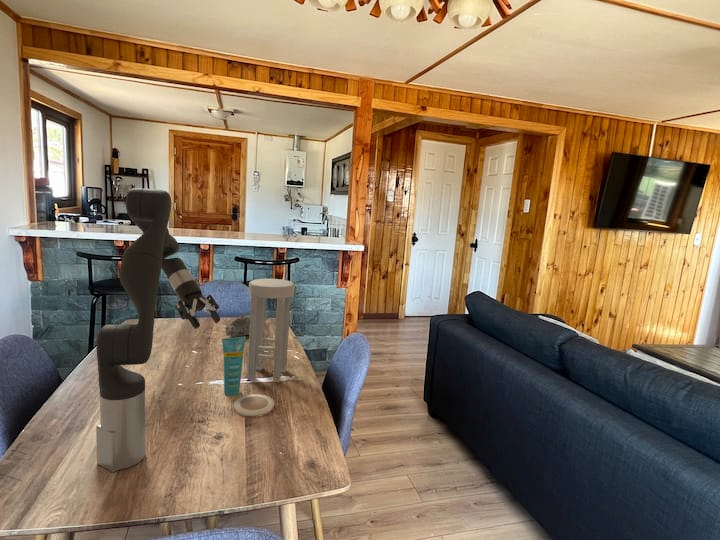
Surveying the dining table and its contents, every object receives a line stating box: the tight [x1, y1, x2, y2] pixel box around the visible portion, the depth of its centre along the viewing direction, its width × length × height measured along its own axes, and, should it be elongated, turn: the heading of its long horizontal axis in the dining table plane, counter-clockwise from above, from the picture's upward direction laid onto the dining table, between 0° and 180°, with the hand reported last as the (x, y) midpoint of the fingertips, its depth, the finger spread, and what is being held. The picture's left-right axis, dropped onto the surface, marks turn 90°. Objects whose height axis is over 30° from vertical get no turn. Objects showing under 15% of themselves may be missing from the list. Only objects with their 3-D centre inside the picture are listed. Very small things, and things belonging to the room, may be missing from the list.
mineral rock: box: [225, 313, 250, 337], centre depth 192 cm, size 13×11×10 cm
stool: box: [247, 278, 296, 384], centre depth 149 cm, size 16×16×35 cm
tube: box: [221, 335, 247, 397], centre depth 135 cm, size 7×5×19 cm, turn 123°
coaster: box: [233, 393, 275, 417], centre depth 128 cm, size 12×12×1 cm
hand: (208, 324), depth 138 cm, fingers open, 8 cm apart
